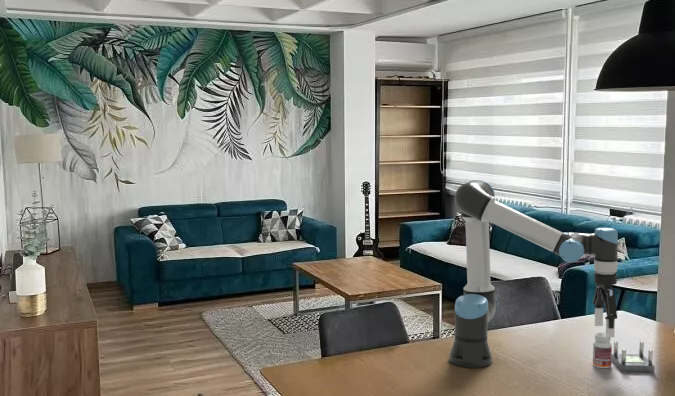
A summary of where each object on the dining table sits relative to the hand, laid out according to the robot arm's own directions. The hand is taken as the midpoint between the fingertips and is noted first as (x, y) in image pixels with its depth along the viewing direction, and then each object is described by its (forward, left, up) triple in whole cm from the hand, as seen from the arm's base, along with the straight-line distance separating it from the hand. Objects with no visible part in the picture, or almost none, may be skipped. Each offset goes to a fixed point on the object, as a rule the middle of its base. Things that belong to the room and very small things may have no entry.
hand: (604, 331), depth 253 cm
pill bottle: (0, 0, -13) cm, 13 cm away
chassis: (+10, 0, -13) cm, 16 cm away
